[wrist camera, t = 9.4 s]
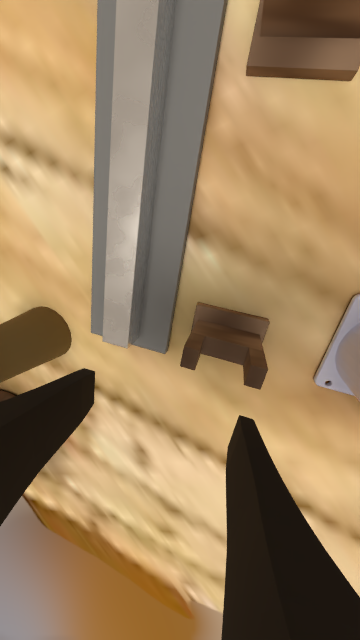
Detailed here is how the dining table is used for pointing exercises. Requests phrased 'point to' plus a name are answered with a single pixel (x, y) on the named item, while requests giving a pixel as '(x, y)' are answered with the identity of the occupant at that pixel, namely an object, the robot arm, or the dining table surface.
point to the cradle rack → (291, 62)
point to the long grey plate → (174, 159)
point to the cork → (32, 341)
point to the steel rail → (134, 157)
